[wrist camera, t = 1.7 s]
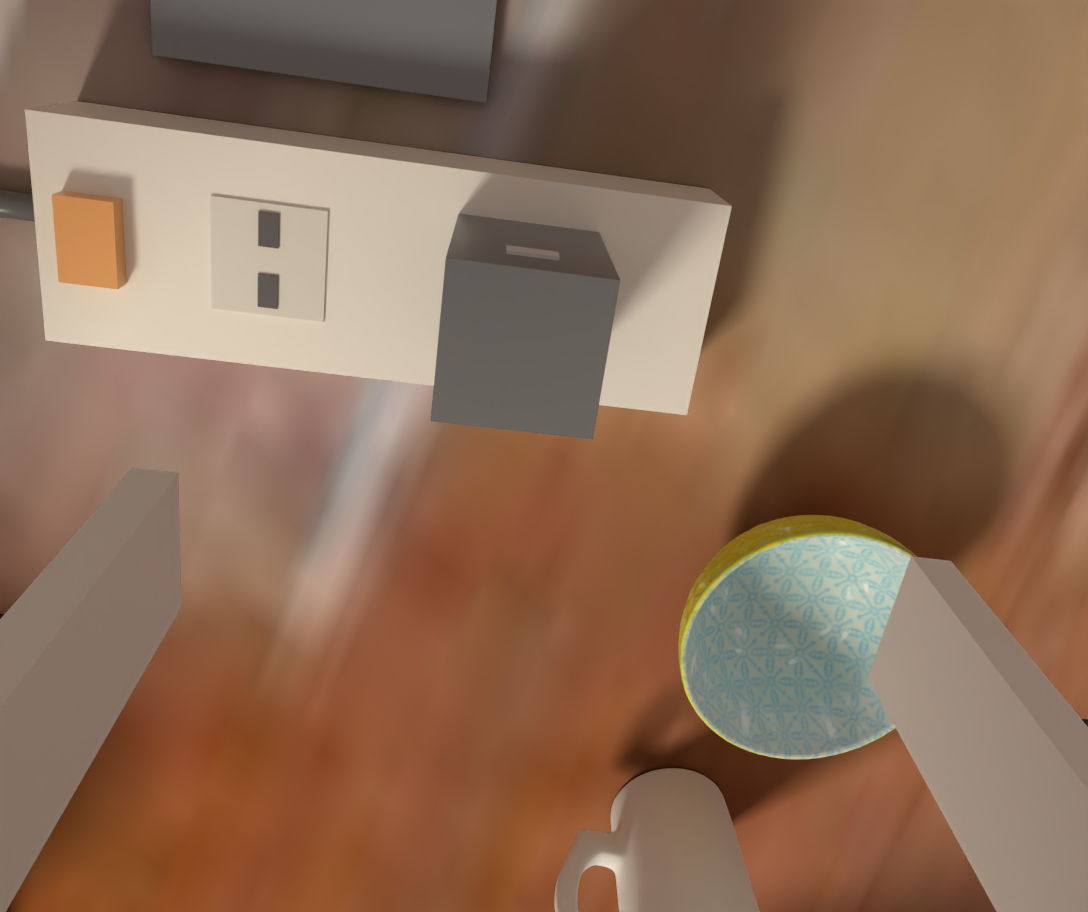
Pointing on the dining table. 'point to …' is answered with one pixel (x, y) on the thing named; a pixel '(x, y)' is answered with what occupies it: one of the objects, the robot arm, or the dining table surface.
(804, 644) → the bowl
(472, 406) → the charger
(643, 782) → the mug
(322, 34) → the mat
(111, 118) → the strip
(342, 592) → the dining table surface
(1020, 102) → the dining table surface
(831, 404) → the dining table surface
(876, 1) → the dining table surface
